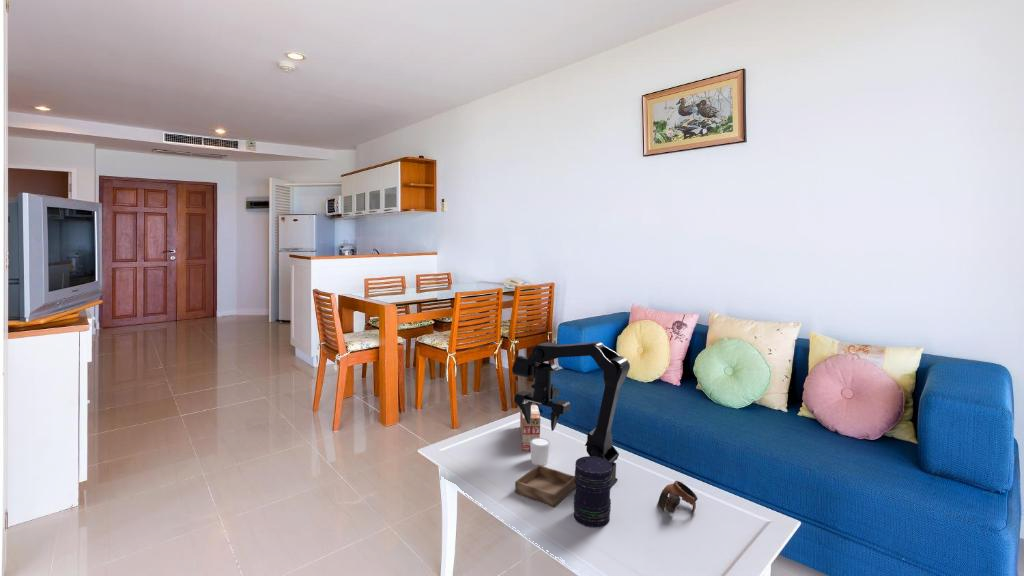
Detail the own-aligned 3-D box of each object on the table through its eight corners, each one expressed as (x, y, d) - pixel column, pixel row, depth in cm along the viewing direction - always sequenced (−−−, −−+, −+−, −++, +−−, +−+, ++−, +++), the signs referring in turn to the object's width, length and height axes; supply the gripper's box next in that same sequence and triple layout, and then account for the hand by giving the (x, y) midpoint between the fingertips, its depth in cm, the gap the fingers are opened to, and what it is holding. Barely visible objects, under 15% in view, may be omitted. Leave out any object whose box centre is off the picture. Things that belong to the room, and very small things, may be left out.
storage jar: (617, 517, 134) (619, 464, 132) (597, 532, 126) (599, 477, 125) (586, 503, 140) (588, 452, 139) (565, 517, 133) (567, 464, 131)
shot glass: (527, 464, 163) (527, 444, 162) (532, 455, 170) (532, 436, 169) (547, 468, 161) (548, 447, 160) (552, 459, 168) (552, 439, 167)
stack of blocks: (519, 427, 195) (520, 397, 194) (535, 427, 195) (536, 397, 194) (521, 451, 174) (522, 417, 172) (539, 451, 174) (540, 417, 172)
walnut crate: (576, 487, 149) (576, 476, 148) (554, 507, 138) (555, 495, 137) (538, 475, 156) (538, 464, 156) (515, 492, 145) (515, 481, 145)
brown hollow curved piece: (659, 497, 145) (675, 475, 144) (687, 521, 141) (704, 498, 139) (648, 505, 135) (665, 481, 134) (678, 531, 130) (696, 507, 129)
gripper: (579, 380, 164) (576, 426, 166) (530, 370, 174) (529, 413, 176) (563, 389, 155) (561, 437, 156) (513, 378, 165) (512, 423, 167)
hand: (540, 426), depth 164 cm, fingers open, 9 cm apart
